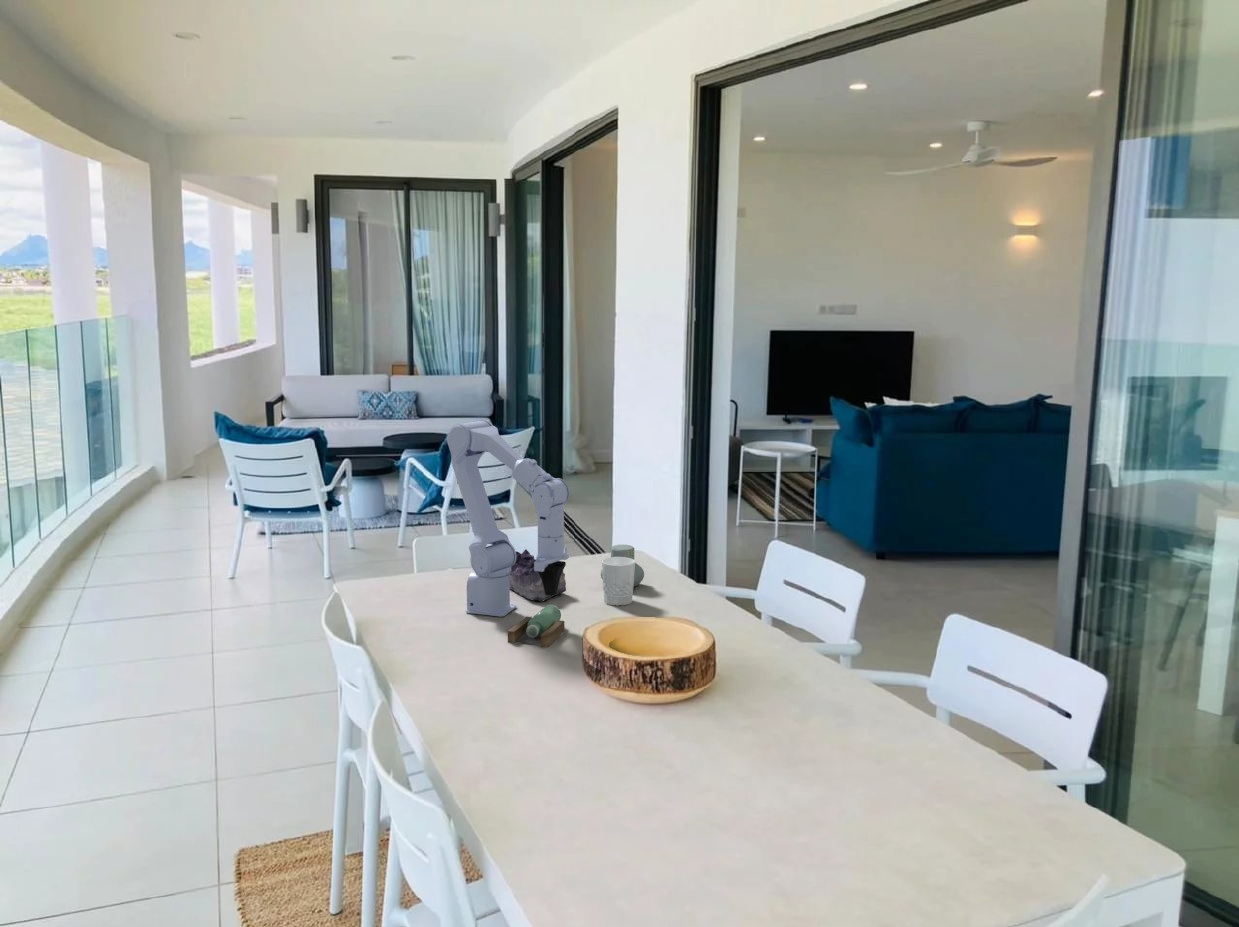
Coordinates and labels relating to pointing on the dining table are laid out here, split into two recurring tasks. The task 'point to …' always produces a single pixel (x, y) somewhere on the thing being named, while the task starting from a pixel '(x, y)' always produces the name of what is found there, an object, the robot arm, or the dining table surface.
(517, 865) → the dining table surface
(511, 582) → the geode
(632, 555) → the air freshener
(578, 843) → the dining table surface
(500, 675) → the dining table surface
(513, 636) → the cradle
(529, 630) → the bottle
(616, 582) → the white cup
